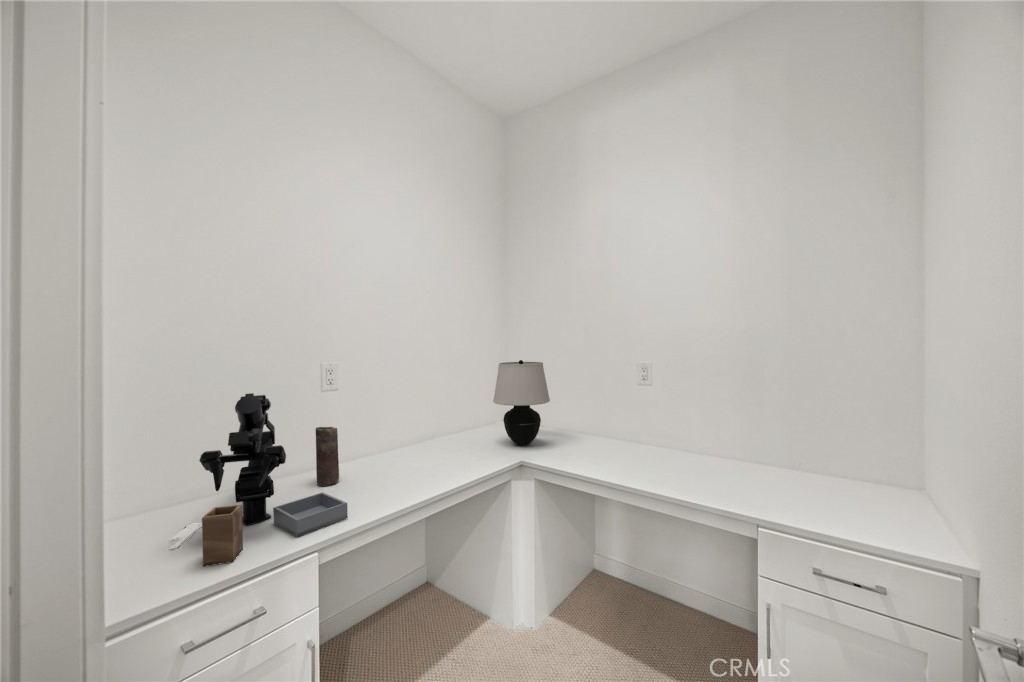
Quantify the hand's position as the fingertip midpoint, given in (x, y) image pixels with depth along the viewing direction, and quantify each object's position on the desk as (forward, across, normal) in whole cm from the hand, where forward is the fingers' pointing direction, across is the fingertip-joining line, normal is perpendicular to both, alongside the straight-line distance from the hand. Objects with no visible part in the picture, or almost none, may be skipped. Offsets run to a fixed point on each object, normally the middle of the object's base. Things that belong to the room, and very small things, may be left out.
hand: (238, 488), depth 105 cm
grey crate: (+5, +16, +15) cm, 22 cm away
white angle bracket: (+4, -16, +16) cm, 23 cm away
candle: (-17, +16, +39) cm, 45 cm away
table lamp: (-35, +98, +57) cm, 119 cm away
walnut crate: (+15, -1, +4) cm, 16 cm away
